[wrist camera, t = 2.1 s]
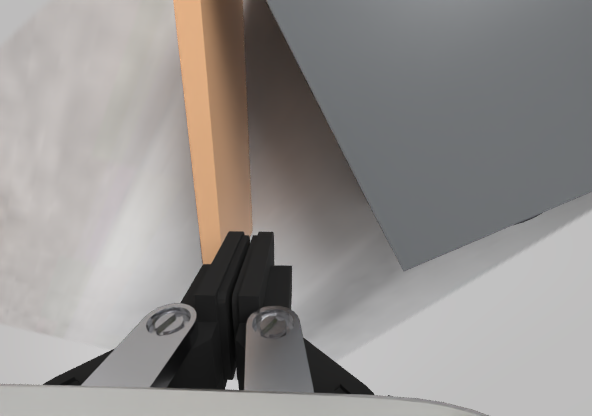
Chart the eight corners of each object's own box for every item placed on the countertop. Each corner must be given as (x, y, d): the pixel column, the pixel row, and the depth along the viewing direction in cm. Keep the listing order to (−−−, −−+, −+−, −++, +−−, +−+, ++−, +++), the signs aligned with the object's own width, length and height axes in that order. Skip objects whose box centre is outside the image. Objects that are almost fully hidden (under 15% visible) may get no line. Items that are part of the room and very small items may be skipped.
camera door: (241, -23, 18) (191, -107, 10) (252, 230, 23) (225, 296, 16) (210, -23, 18) (137, -106, 10) (229, 229, 23) (191, 295, 16)
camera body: (474, -177, 15) (722, -578, 6) (557, 134, 20) (759, 170, 11) (254, -21, 18) (197, -136, 9) (376, 219, 23) (420, 304, 14)
